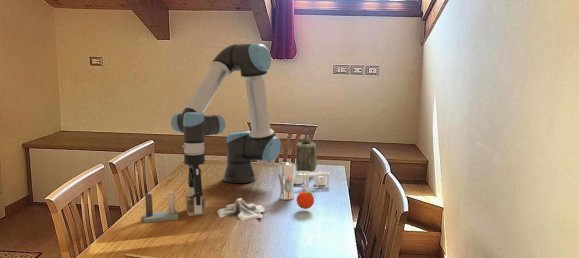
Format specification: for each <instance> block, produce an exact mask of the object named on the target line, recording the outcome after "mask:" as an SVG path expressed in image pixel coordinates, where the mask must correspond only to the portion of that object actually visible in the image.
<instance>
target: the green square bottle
mask: <svg viewBox="0 0 579 258" xmlns="http://www.w3.org/2000/svg"><path fill="white" fill-rule="evenodd" d="M304 133H305V134H304V137H303V138H302V139H301V141H299V142H297V144H296V149H295V151H296V153H295V154H296V155H295V159H296V161H295V163H296V164H295V165H296V166H295V171H309V172H315V170H316V169H317V160H318V159H317V154H318V153H317V151H318V148H317V147H318V146H317V145H318V144H316V143H315V142H313V141H312V140H311V139H310V138H309V137H308V129H307V128H305V132H304Z"/></svg>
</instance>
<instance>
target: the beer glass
mask: <svg viewBox="0 0 579 258" xmlns="http://www.w3.org/2000/svg"><path fill="white" fill-rule="evenodd" d="M295 165H296V164H295V163H294V162H291V161H288V162H287V161H284V162H279V163H278V181H279V186H280V187H279V189H280V193H279V199H280V200H283V201H288V200H289V201H290V200H293V199H294V198H295V197H294V196H295V195H294V185H295V184H294V179H295V171H296V166H295Z"/></svg>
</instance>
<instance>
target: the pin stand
mask: <svg viewBox="0 0 579 258" xmlns="http://www.w3.org/2000/svg"><path fill="white" fill-rule="evenodd" d="M175 194H176V192H175V191H168V192H167V205H168V206H167V207H168V209H167V210H163V211H154V209H153V208H154V207H153V206H154V205H153V193H145V196H144V197H145V212H143V216H142V217H143V222H144V223H155V222H165V221H166V222H167V221H176V220H179V213H178V210H177V209H176V201H175V200H176V195H175Z"/></svg>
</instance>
